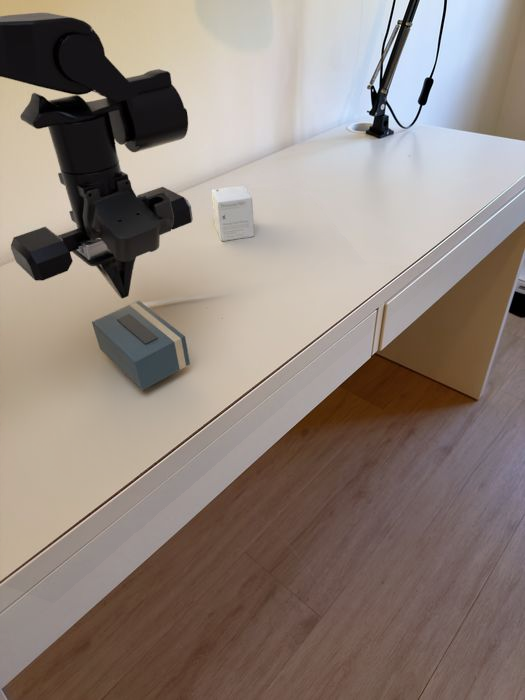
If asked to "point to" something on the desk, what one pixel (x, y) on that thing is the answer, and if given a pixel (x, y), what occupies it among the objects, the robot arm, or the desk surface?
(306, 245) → the desk surface
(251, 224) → the product box
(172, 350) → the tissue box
